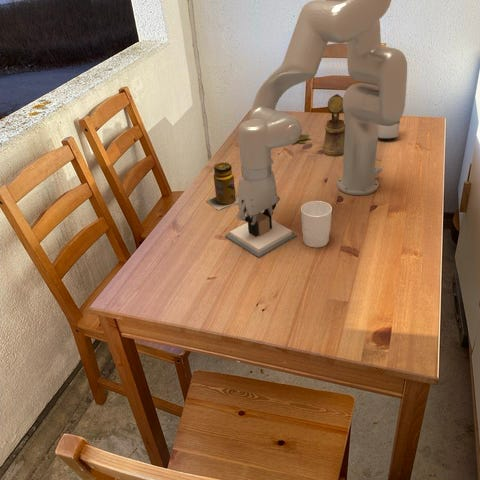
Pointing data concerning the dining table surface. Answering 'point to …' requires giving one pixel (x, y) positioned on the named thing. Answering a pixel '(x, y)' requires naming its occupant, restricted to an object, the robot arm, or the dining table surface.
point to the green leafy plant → (302, 139)
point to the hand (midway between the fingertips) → (260, 230)
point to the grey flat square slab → (265, 249)
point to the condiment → (223, 187)
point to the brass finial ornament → (334, 129)
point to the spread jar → (388, 132)
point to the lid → (261, 234)
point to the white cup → (316, 223)
